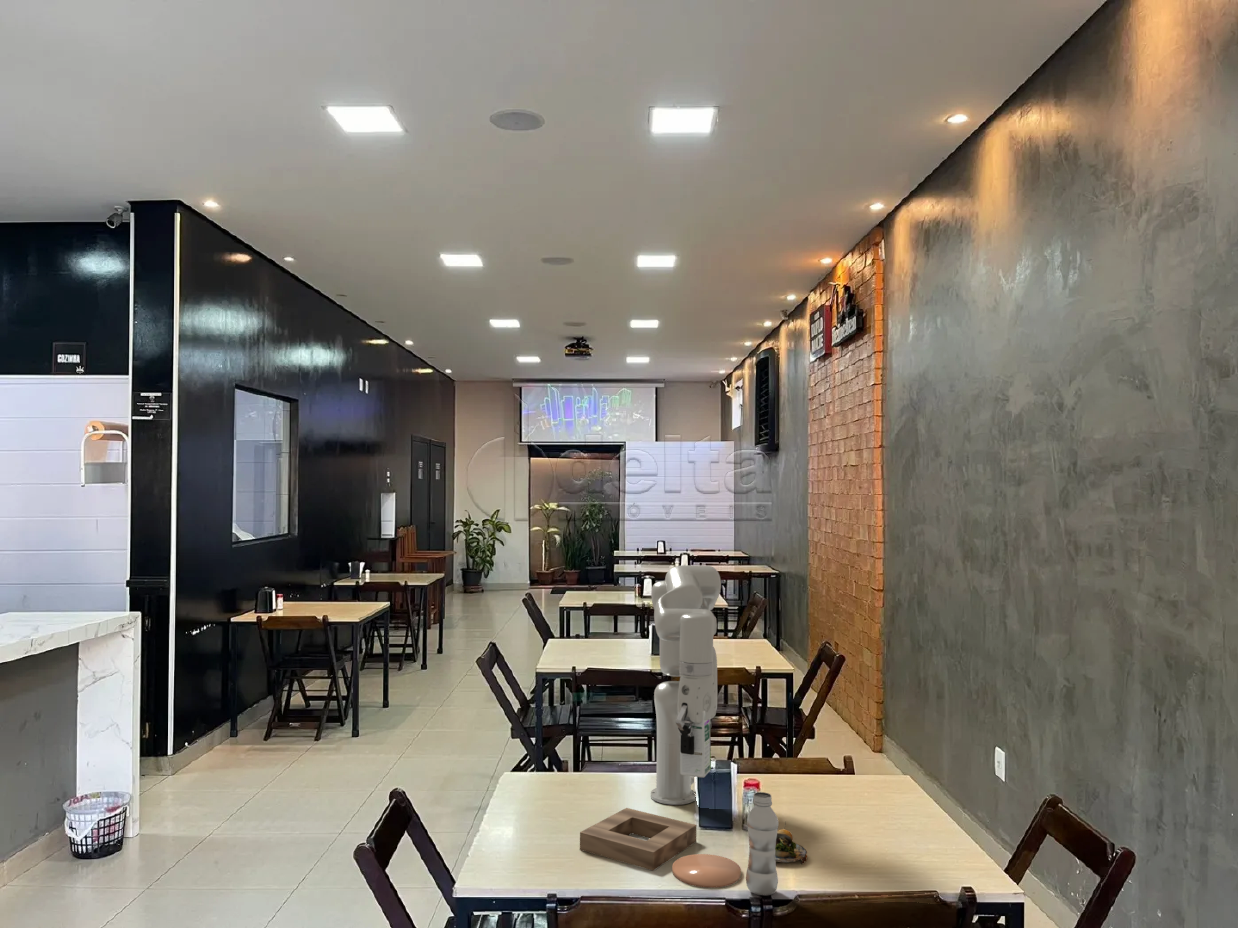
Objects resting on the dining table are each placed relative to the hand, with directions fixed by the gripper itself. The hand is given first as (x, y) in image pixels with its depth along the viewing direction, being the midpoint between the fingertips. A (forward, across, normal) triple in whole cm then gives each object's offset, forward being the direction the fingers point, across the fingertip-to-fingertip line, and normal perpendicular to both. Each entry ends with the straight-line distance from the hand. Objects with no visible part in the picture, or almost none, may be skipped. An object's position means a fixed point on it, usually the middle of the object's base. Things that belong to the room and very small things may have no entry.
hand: (695, 748), depth 191 cm
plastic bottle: (+26, -2, -17) cm, 32 cm away
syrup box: (+5, 0, 0) cm, 5 cm away
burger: (+26, +18, -13) cm, 34 cm away
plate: (+26, 0, -3) cm, 26 cm away
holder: (+26, +3, +17) cm, 31 cm away
